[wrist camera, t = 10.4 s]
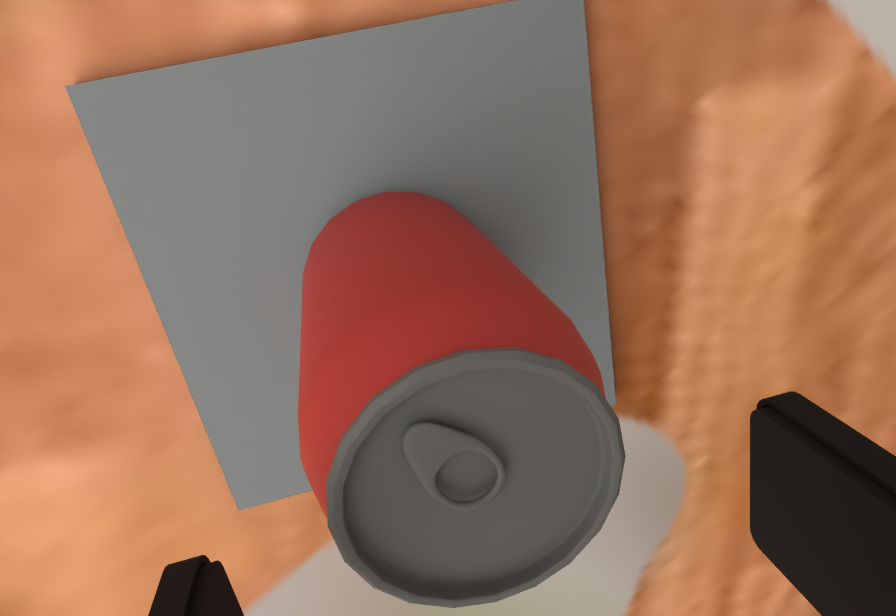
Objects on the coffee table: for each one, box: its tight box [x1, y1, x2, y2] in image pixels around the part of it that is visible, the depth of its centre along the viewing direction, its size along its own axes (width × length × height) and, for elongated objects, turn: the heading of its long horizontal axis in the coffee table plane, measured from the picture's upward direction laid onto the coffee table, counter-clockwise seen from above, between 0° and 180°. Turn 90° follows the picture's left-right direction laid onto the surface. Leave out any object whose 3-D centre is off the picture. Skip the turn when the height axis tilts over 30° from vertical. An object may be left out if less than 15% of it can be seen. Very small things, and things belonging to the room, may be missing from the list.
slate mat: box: [65, 0, 616, 510], centre depth 22 cm, size 16×16×1 cm
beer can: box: [298, 192, 625, 608], centre depth 16 cm, size 7×7×12 cm
